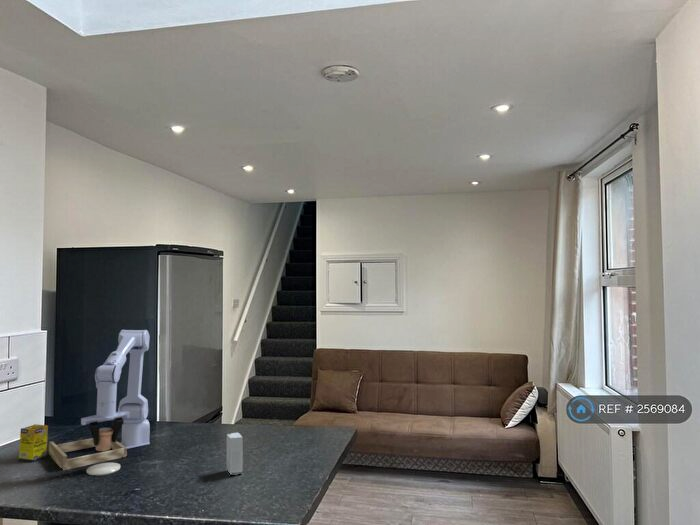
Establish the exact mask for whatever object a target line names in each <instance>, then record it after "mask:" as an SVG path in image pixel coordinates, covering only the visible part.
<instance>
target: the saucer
mask: <svg viewBox="0 0 700 525" xmlns="http://www.w3.org/2000/svg"><path fill="white" fill-rule="evenodd" d="M120 469H121V464H120V463H117V462H100V463H95V464H92V465H91V466H89V467H87V468H86V474H87V475H89V476H94V475H95V476H94V477H96V476H99V477H100V476H106V475H107V476H108V475H111V474H113V473H116V472H118V471H119V470H120Z"/></svg>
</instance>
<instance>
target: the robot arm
mask: <svg viewBox="0 0 700 525" xmlns="http://www.w3.org/2000/svg"><path fill="white" fill-rule="evenodd" d="M150 337H151V336H150V333H149V331H148V330H147V329H139V330H138V329H136V330H135V329H121V330H120V332H119V333H118V340H117V341H118V342H117V343H118V344H117V348H116V349H115V351H112V352H110V354H109V355H108V357H107V359H106V360H105V362H103V365H100V366H98V367H97V368H96V369H95V374H94V380H95V388H96V389H97V393H96V394H97V396H96V414H94V415H89V416H85V417H81V418H80V424H81V426H88V429H89V431H90V433H91V436H92V438H93V441H94V445H95V447H96V446H98V435H99V429H101V426H100V424H99V423H103V422H108V421H111V429H113V430H114V431H113V434H112V439H111V440H112V442H116V441H117V438H118V435H119V432H120V430H121V441H120V442H119V443H120V444H122V445H123V446H125V447H126V448H127V450H129V449H133V448H137V447H142V446H148V445H150V444H151V443H150V433H151V432H150V430H151V427H150V426H151V425H150V422H149V420H148V419H147V418H148V415H149V402H148V399H147V398H146V397H145V396H143V395H142V393H141V392H142V382H143V381H142V379H143V366H144V356H145V353H146V352H147V351H149V348H150ZM128 353H129V365H128V366H129V367H128V377H127V378H128V379H127V391H126V392H127V393H126V396H125V397H123V398H122V399H120V401H119V404H118V409H117V392H118V391H117V389H118V382H119V381H120V378H121V374H122V368H123V367H124V365H125V363H126V362H127V356H126V355H128Z"/></svg>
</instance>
